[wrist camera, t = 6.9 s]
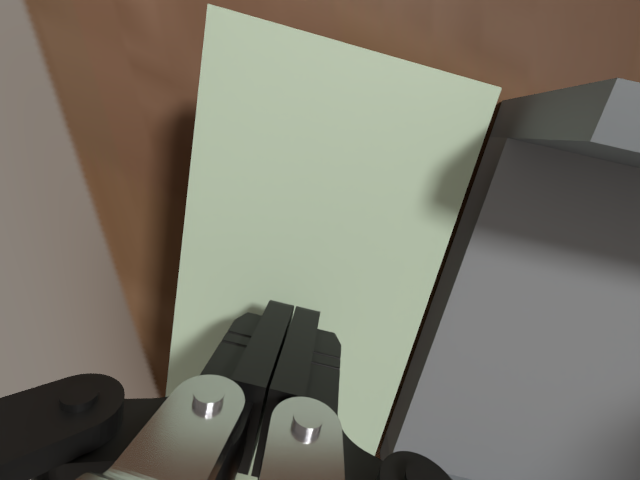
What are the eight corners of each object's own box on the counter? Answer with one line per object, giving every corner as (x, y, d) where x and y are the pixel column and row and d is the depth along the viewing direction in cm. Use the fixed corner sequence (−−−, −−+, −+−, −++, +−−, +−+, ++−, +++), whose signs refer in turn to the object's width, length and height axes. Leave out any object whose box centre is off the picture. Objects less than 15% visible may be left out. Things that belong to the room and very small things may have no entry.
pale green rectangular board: (501, 87, 10) (207, 3, 8) (362, 489, 15) (155, 490, 13) (481, 89, 11) (212, 14, 9) (356, 467, 16) (162, 465, 14)
